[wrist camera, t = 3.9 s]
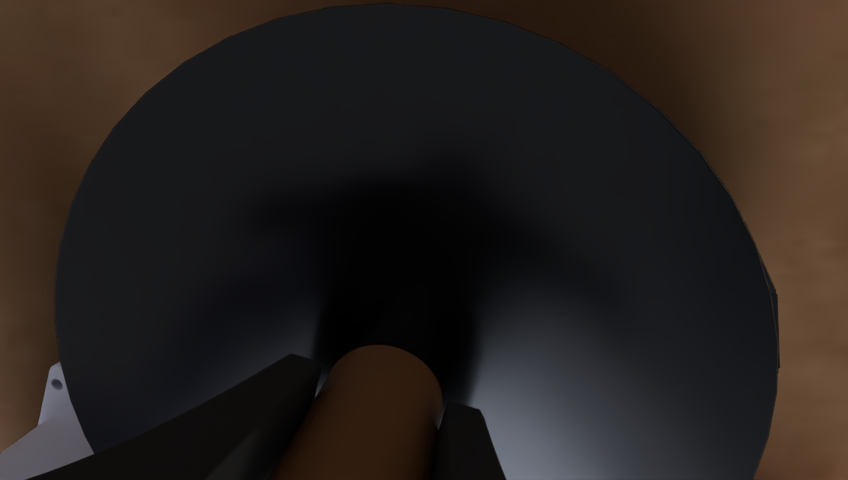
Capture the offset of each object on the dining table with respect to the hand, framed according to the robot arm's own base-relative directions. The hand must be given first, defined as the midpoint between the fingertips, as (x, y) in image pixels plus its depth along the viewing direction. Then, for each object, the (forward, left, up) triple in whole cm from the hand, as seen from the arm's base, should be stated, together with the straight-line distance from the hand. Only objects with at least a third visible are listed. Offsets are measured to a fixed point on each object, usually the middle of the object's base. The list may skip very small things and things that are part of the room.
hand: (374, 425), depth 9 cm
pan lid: (0, 0, -1) cm, 1 cm away
